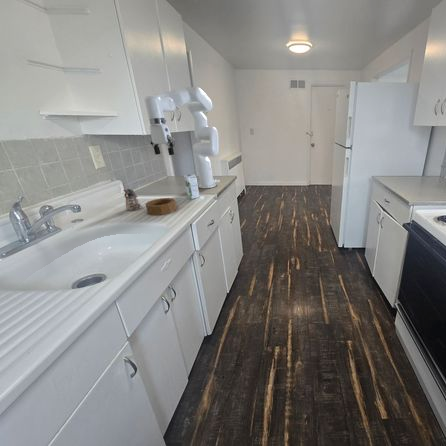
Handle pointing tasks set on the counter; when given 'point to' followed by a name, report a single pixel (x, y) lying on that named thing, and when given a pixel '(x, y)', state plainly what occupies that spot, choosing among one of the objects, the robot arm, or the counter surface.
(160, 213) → the brown bowl
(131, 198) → the figurine
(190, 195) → the syrup box
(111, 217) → the counter surface
